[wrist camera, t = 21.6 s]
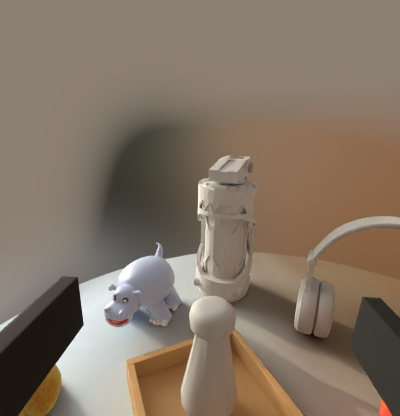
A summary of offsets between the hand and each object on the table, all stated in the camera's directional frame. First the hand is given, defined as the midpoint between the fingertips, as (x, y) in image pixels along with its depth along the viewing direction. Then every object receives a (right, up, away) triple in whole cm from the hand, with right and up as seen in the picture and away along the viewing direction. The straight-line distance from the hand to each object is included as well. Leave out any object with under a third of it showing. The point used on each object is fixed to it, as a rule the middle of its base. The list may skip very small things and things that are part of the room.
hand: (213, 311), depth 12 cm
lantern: (+4, -11, +39) cm, 41 cm away
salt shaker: (0, -17, +15) cm, 22 cm away
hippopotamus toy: (-10, -13, +31) cm, 35 cm away
